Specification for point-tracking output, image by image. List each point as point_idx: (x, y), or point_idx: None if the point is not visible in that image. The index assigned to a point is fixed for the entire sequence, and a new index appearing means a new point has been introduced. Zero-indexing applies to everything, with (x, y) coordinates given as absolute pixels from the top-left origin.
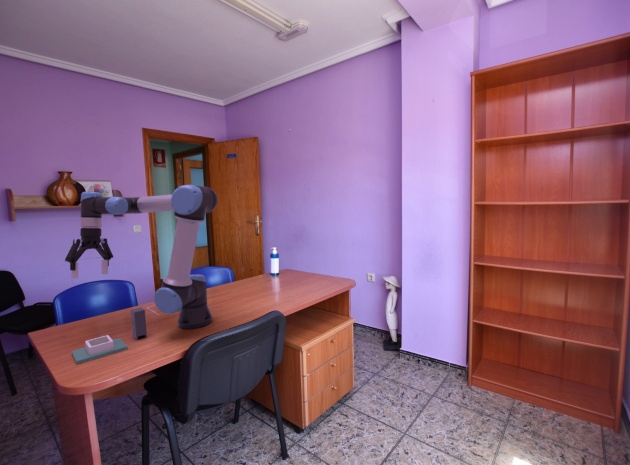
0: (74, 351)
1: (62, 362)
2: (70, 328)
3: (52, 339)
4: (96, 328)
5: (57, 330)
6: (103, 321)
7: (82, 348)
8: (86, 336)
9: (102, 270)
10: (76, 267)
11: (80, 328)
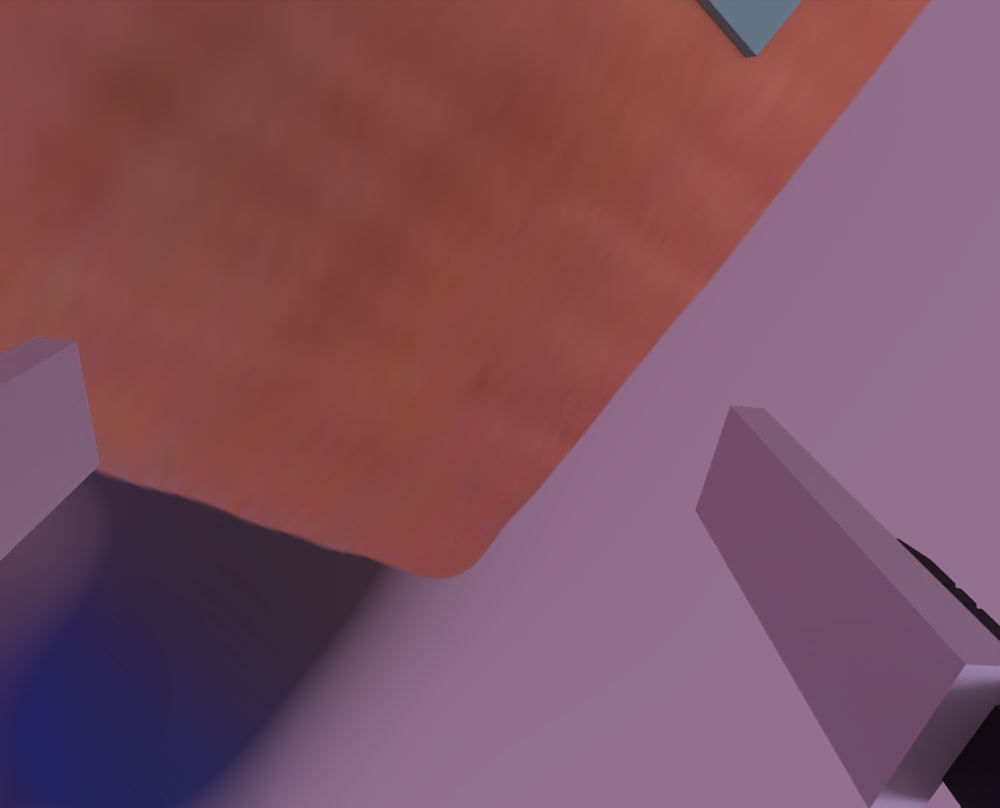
0: (768, 23)
1: (860, 5)
2: (363, 459)
3: (528, 406)
4: (329, 283)
5: (404, 502)
6: (197, 353)
7: (726, 1)
8: (471, 226)
9: (44, 486)
10: (909, 556)
11: (351, 398)
